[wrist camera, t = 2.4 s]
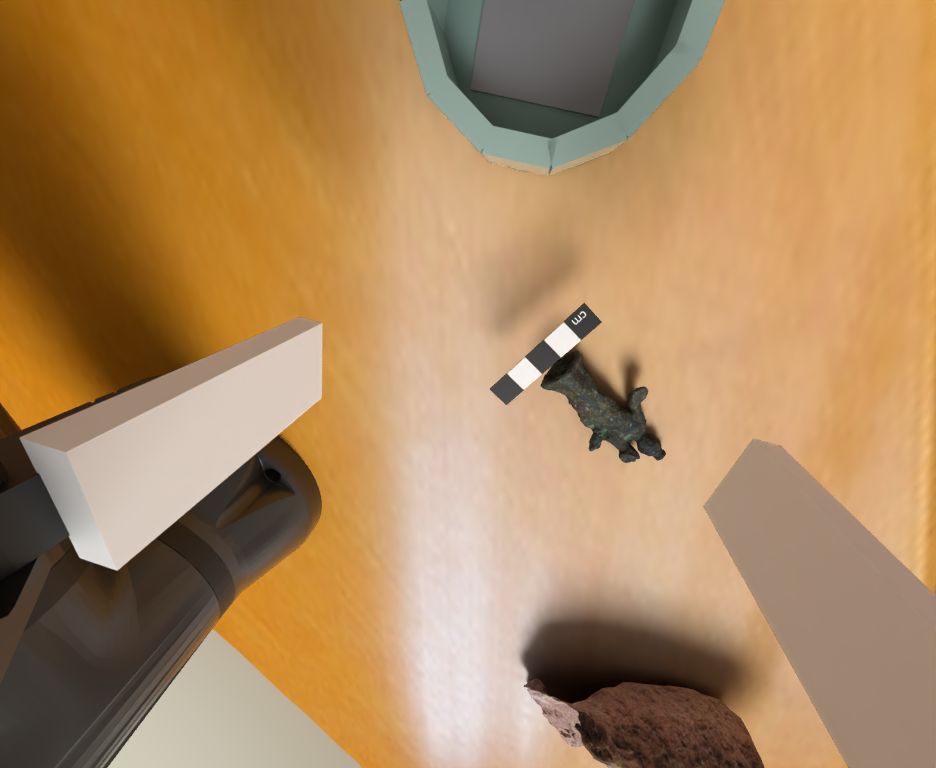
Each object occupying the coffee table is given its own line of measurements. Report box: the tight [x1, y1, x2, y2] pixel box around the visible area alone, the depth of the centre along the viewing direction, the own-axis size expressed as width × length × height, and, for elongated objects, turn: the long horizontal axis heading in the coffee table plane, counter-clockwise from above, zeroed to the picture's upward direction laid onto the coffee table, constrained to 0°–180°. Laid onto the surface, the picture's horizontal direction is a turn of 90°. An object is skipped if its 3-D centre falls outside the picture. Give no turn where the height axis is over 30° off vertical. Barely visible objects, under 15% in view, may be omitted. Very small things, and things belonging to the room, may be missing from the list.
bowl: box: [399, 0, 725, 176], centre depth 14 cm, size 11×11×4 cm
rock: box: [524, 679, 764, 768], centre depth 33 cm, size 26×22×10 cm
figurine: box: [490, 303, 666, 463], centre depth 21 cm, size 6×4×12 cm
